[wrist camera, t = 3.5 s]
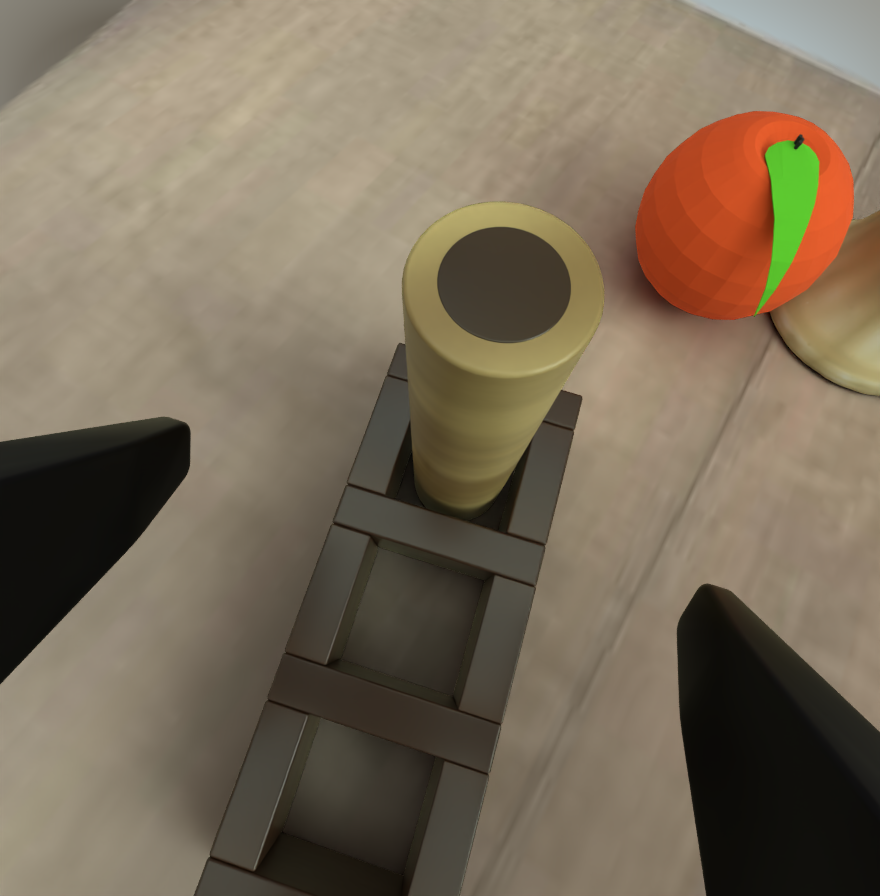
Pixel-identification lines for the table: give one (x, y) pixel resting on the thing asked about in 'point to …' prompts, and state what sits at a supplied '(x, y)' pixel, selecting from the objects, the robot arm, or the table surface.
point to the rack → (385, 697)
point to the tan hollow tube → (490, 343)
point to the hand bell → (841, 313)
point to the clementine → (744, 215)
